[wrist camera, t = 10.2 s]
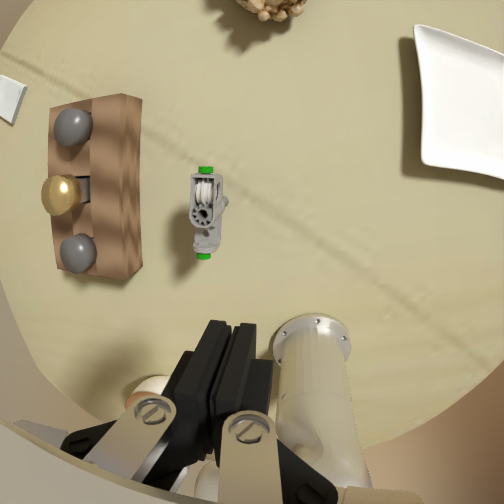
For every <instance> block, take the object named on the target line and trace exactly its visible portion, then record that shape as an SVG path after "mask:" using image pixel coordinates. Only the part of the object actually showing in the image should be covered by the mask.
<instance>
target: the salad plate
mask: <svg viewBox="0 0 504 504" xmlns="http://www.w3.org/2000/svg"><path fill="white" fill-rule="evenodd" d="M413 35H414V41H415V46H416V52H417V57H418V63H419V71H420V79H421V93H422V126H421V161H422V163H423V164H425V165H427V166H433V167H440V168H448V169H456V170H462V171H469V172H474V173H480V174H484V175H488V176H493V177H496V178H499V179H502V180H504V54H502V53H499V52H497V51H495V50H492V49H490V48H488V47H485V46H483V45H480V44H478V43H475V42H473V41H470V40H467V39H465V38H462V37H459V36H456V35H454V34H451V33H448V32H445V31H442V30H439V29H436V28H433V27H429V26H426V25H420V24H416V25H414V27H413Z"/></svg>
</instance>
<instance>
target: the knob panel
mask: <svg viewBox="0 0 504 504" xmlns="http://www.w3.org/2000/svg"><path fill="white" fill-rule="evenodd" d="M67 108H73V109H81V110H86V111H88V112H89V113H90V114H91V116H92V119H93V129H92V133H91V135H90V139H88V140H87V141H86V142H85V143H84V144H82V145H76V146H61V145H59V144H58V143H57V142H56V140H55V138H54V134H53V128H54V123H55V120H56V118H57V116H58V115H59V113H60V112H61V111H63V110H64V109H67ZM141 112H142V99H139V98H136V97H133V96H129V95H126V94H122V93H121V94H115V95H109V96H103V97H98V98H93V99H88V100H83V101H78V102H74V103H70V104H65V105H61V106H57V107H54V108H50V115H49V133H48V178H49V177H51V176H56V175H62V174H72V175H74V176H75V177H76V178H79V177H90V196H91V200H89V201H86V202H82V203H79V205H78V207H77V208H76V209H75V210H73V211H70V212H67V213H64V214H61V215H58V216H53V215H51V214H50V215H51V225H52V234H53V243H54V250H55V257H56V263H57V269H61V270H67V269H66V267H65V266H64V265H63V263H62V261H61V258H60V245H61V243H62V242H63V241H64V240H65V239H67V238H70V237H72V236H74V235H76V234H79V233H84V234H87V235H88V236H89V237H93V240H94V243H95V246H96V249H97V258H96V261H95V263H94V264H93V265H91V266H90V267H88V268H87V269H85V270H83V271H82V272H80V273H83V274H89V275H95V276H101V277H107V278H113V279H120V280H126V279H127V278H128V277H129V276H131V275H132V274H133V273H134V272H136V271H137V270H138V269H139V268H141V267H142V266H143V262H142V247H141V228H140V191H139V167H140V131H141ZM67 271H69V270H67Z"/></svg>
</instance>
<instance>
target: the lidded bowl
mask: <svg viewBox="0 0 504 504" xmlns="http://www.w3.org/2000/svg"><path fill="white" fill-rule="evenodd" d="M170 377H171V376H168V375H163V376H154V377H150V378H148V379H146V380H144V381H143V382H142V383H140V384H139V385H138V386H137V387H136V389H135V390H134V391H133V393H132V394H131V395H130V396H129V397H128V399H127V401H126V403H125V408H126V410H127V409H128V408H129V407H130V406H131V404H132V403H133V402H135V401H136V400H137V399H139V398H141V397H143V396H148V395H161V393H162V391H163V390H164V388H165V386H166V384H167V382H168V380H169V379H170Z"/></svg>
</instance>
